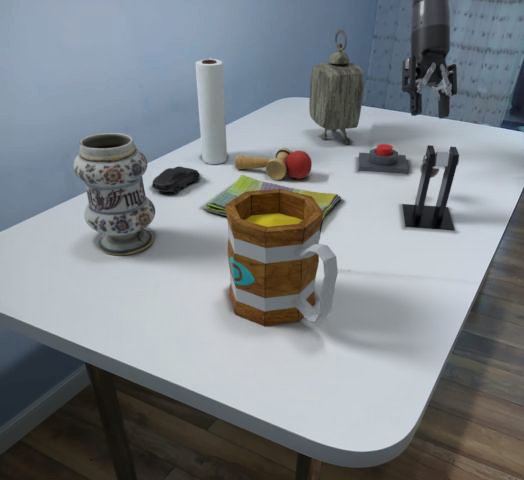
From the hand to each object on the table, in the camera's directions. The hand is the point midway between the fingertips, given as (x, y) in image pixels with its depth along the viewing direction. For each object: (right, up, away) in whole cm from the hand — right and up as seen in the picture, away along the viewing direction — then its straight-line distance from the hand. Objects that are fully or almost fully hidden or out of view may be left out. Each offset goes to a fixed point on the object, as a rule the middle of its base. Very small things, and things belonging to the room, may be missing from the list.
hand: (430, 116), depth 103 cm
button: (-7, -4, +11) cm, 14 cm away
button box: (-7, -6, +13) cm, 16 cm away
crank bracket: (-3, -24, -7) cm, 25 cm away
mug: (-32, -43, -29) cm, 61 cm away
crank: (-3, -16, -9) cm, 18 cm away
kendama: (-33, -8, +11) cm, 36 cm away
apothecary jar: (-60, -29, -13) cm, 68 cm away
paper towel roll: (-47, -2, +18) cm, 50 cm away
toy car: (-54, -13, +6) cm, 56 cm away
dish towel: (-33, -20, -3) cm, 39 cm away
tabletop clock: (-17, +8, +30) cm, 35 cm away
